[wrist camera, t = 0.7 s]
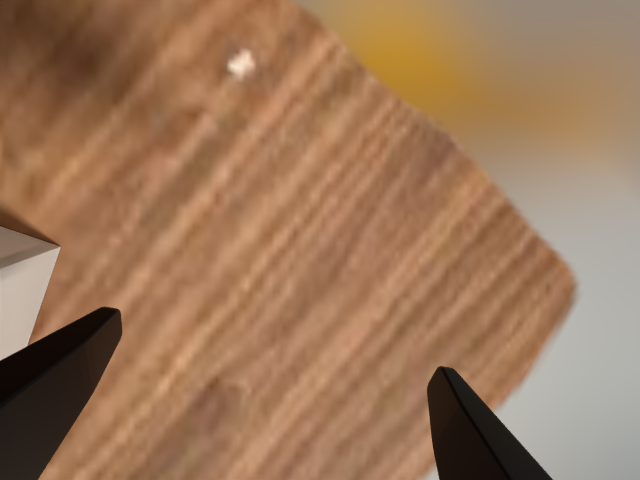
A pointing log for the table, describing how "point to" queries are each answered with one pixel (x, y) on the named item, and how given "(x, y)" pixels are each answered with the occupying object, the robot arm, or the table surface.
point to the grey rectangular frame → (22, 286)
